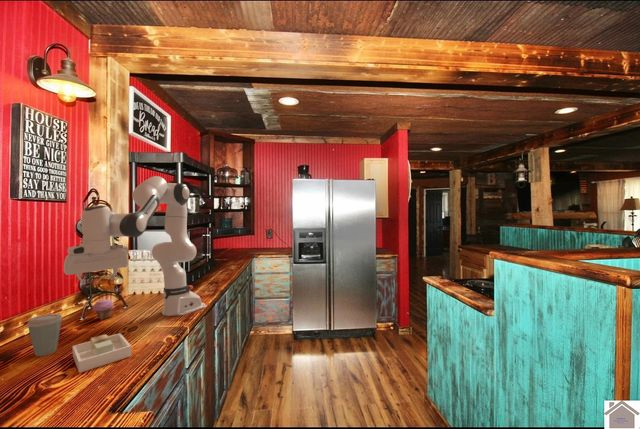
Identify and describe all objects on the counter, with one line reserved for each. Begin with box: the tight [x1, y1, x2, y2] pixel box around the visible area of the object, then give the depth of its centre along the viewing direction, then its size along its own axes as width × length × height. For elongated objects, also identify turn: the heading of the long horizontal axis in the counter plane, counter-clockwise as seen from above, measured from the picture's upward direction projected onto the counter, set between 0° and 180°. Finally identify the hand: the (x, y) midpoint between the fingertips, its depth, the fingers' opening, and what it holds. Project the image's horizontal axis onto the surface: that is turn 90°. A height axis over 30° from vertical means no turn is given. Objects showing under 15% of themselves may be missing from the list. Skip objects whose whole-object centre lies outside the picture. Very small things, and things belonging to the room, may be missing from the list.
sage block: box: [94, 340, 113, 356], centre depth 114 cm, size 5×5×5 cm
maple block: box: [90, 333, 109, 354], centre depth 119 cm, size 5×5×5 cm
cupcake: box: [92, 298, 115, 320], centre depth 159 cm, size 9×9×10 cm
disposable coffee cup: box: [26, 313, 63, 357], centre depth 120 cm, size 11×11×15 cm
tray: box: [72, 332, 132, 373], centre depth 117 cm, size 16×18×4 cm
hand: (98, 282), depth 117 cm, fingers open, 8 cm apart
